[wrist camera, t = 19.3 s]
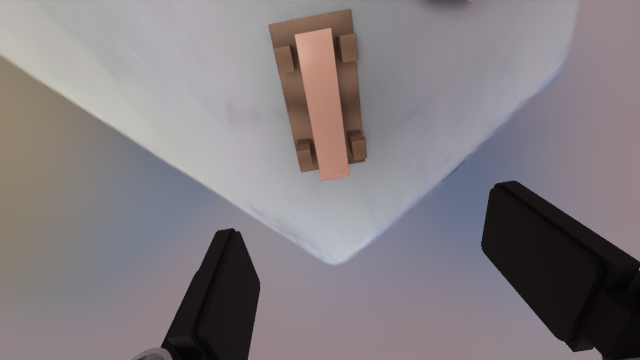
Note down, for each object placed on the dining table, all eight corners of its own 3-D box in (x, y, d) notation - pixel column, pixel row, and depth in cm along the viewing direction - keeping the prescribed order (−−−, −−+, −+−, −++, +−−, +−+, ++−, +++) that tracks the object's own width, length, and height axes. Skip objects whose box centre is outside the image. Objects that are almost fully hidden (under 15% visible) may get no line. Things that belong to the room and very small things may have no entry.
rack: (269, 25, 29) (263, 22, 25) (349, 10, 29) (357, 4, 24) (301, 169, 37) (301, 186, 33) (363, 158, 37) (371, 174, 33)
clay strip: (295, 35, 29) (294, 34, 25) (327, 29, 29) (331, 27, 25) (319, 165, 36) (321, 181, 32) (344, 161, 36) (349, 176, 32)
